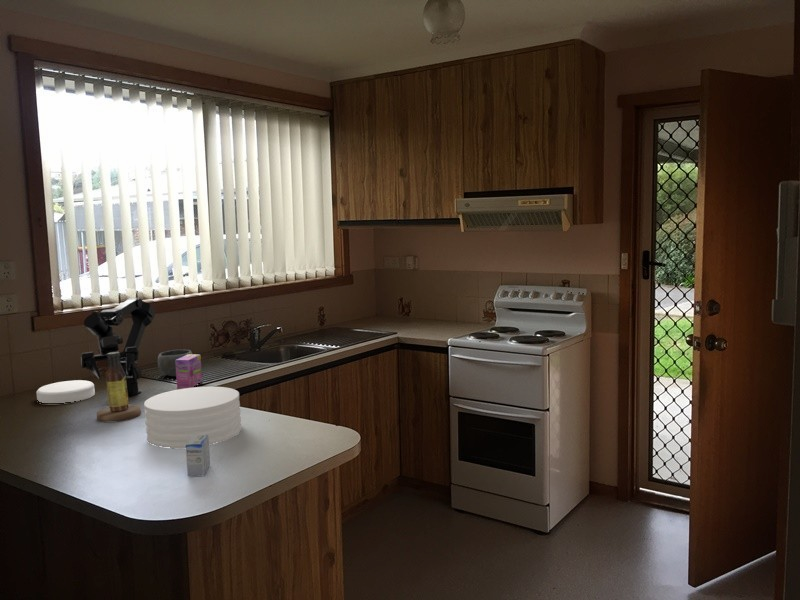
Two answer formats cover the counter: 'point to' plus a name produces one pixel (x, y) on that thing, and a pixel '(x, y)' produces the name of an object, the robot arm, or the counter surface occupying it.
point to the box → (188, 371)
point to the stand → (119, 413)
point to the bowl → (170, 361)
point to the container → (65, 391)
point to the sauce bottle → (116, 384)
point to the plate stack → (192, 415)
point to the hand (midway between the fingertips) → (113, 376)
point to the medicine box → (197, 455)
